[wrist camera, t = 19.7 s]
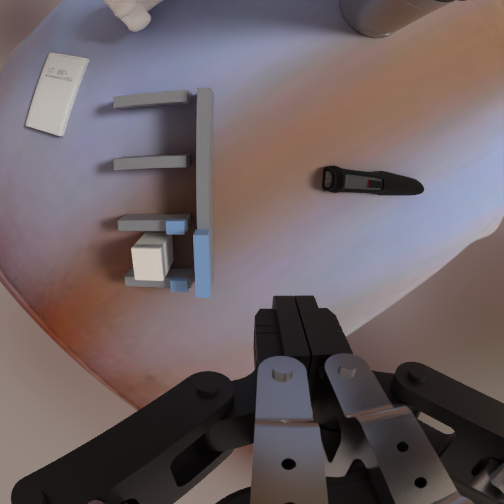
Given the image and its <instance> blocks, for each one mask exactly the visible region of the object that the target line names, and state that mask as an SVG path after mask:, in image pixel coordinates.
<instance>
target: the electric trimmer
mask: <svg viewBox="0 0 504 504" xmlns="http://www.w3.org/2000/svg"><path fill="white" fill-rule="evenodd" d="M322 187H323V189H324V190H328V191H329V192H333V193H337V192H357V193H373V194H377V195H417V194H421V193H422V192H423V191H424V187H423V185H422V184H421V183H420V182H419V181H417V180H415V179H413V178H409V177H405V176H401V175H397V174H393V173H389V172H384V171H379V172H364V171H355V170H347V169H342V168H339V167H337V166H329V167H325V168H324V170H323V183H322Z"/></svg>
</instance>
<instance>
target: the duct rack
mask: <svg viewBox="0 0 504 504" xmlns="http://www.w3.org/2000/svg"><path fill="white" fill-rule="evenodd" d="M191 98H192V94H191V93H190V92H189V91H188V90H182V91H166V92H154V93H143V94H134V95H125V96H118V97H114V99H113V108H118V109H130V108H140V107H151V106H165V105H183V104H191ZM213 101H214V93H213V91H212V90H211V89H210V88H197V122H196V203H197V229H196V230H195V232H194V234H193V246H194V268H195V287H196V297H202V298H210V294H211V288H212V283H213V227H212V152H213ZM189 165H191V154H170V155H147V156H130V157H121V158H117V159H114V170H126V169H146V168H175V167H188V166H189ZM191 224H192V217H191V214H126V215H124V216H123V217H122V218H120V219H119V220H118V230H119V231H166V234H170V235H184V234H185V231H188V230H189V228H190V226H191ZM124 278H125V284H126V286H142V287H167V288H171V292H188V290H189V288H191V285H192V282H193V279H194V269H186V268H170V269H169V271H168V273H167V275H166V277H165V279H164V281H149V280H135V276H134V269H133V267H131V269H130V270H129V271H128V272H127V274H126V275H125V276H124Z"/></svg>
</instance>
